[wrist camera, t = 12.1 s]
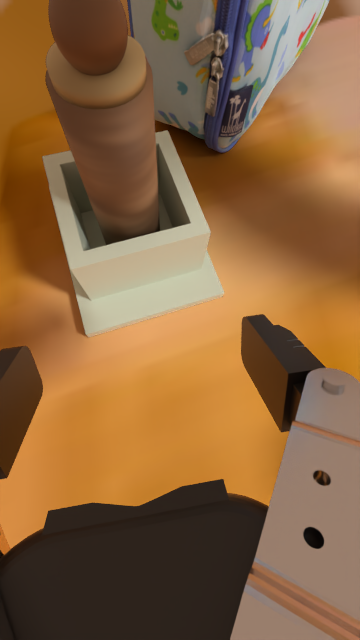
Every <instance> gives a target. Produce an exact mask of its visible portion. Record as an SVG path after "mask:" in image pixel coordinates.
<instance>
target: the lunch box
mask: <svg viewBox="0 0 360 640" xmlns="http://www.w3.org/2000/svg"><path fill="white" fill-rule="evenodd" d="M127 2H128V11H129V20H130V29H131V37H132V38H134V39H135V40H136V41H137V42H138V43H139V44H140V45H141V47H142V48H143V50H144V53H145V58H146V60H147V61H148V63H149V65H150V67H151V69H152V75H153V95H154V116H155V120H157V121H160V122H162V123H165V124H169V125H172V126H174V127H177V128H179V129H182V130H187V131H188V132H190V133H191V134H193V135H194V136H196V137H198V138H200V139H204V140H205V144H206V145H207V146H208V148H212V149H213V150H215V151H218V152H221V153H223V152H227V151H229V150H230V149H231V148H232V147H233V146H234V145H235V144H236V143H237V141H238V140H239V139H240V137H241V136H242V135H243V134H244V133H245V132H246V131H247V129H248V128H249V127H250V126H251V124H252V123H253V121H254V120H255V118H256V117H257V115H258V114H259V112H260V110H261V109H262V107H263V105H264V103H265V102H266V100H267V99H268V97H269V95H270V94H271V92H272V90H273V89H274V87H275V86H276V85H277V83H278V82H279V81H280V80H281V79H282V78H283V77H284V76H285V75H286V73H287V72H288V71H289V70H290V68H291V67H292V66H293V64H294V63H295V61H296V59H297V58H298V57H299V55H300V54H301V53H302V51H303V50H304V48H305V47H306V46H307V44H308V43H309V41H310V39H311V38H312V35H313V33H314V31H315V29H316V27H317V25H318V23H319V21H320V19H321V17H322V15H323V13H324V11H325V9H326V7H327V4H328V2H329V0H127Z"/></svg>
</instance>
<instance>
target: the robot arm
mask: <svg viewBox="0 0 360 640" xmlns="http://www.w3.org/2000/svg"><path fill="white" fill-rule="evenodd" d="M241 355H242V361H243V364H244V366H245V368H246V370H247V372H248V374H249V376H250V377H251V379H252V381H253V383H254V385H255V386H256V388H257V390H258V392H259V394H260V395H261V397H262V399H263V401H264V403H265V404H266V406H267V408H268V410H269V412H270V413H271V415H272V417H273V419H274V421H275V422H276V424H277V426H278V428H279V430H280V431H281V432H286V431H290V432H289V436H288V440H287V443H286V447H285V451H284V454H283V458H282V461H281V465H280V469H279V472H278V476H277V480H276V483H275V487H274V490H273V494H272V498H271V501H270V505H269V507H268V506H267V505H265V504H263V503H261V502H259V501H257V500H254V499H252V498H249V497H246V496H242V495H238V494H232V493H227V491H226V487H225V484H224V480H223V479H220V480H215V481H209V482H204V483H198V484H193V485H187V486H182V487H180V488H178V489H175V490H173V491H171V492H169V493H167V494H165V495H162V496H160V497H158V498H156V499H154V500H152V501H149V502H147V503H145V504H143V505H140V506H123V505H112V504H101V503H89V504H83V505H78V506H72V507H67V508H61V509H56V510H50V511H48V514H47V518H46V522H45V525H44V528H43V529H41V530H39V531H37V532H35V533H33V534H32V535H30V536H28V537H27V538H25V539H24V540H22V541H21V542H20V543H18V544H17V545H15V546H14V547H13V548H12V549H10V547H9V545H8V542H7V540H6V538H5V535H4V532H3V530H2V527H1V525H0V640H360V383H359V381H358V380H357V379H355V378H354V377H353V376H351V375H349V374H348V373H345V372H343V371H340V370H337V369H331V368H326V367H325V366H324V365H323V364H322V363H321V362H320V361H319V360H318V359H317V358H316V357H315V356H314V355H313V354H312V353H311V352H310V351H309V350H308V349H307V348H306V347H304V345H303V344H302V343H301V342H300V340H298V338H297V337H296V336H295V335H294V334H293V333H292V332H291V331H290V330H288V329H286V328H284V327H282V326H280V325H273V324H272V323H271V322H270V321H269V320H268V319H267V318H266V316H265V315H263V314H261V315H254V316H246V317H243V319H242V337H241ZM42 392H43V385H42V380H41V377H40V374H39V372H38V369H37V367H36V364H35V362H34V359H33V357H32V354H31V352H30V350H29V348H28V347H27V346H21V347H13V348H6V349H2V350H1V351H0V479H5V478H7V477H8V475H9V472H10V470H11V468H12V465H13V463H14V461H15V458H16V456H17V453H18V451H19V449H20V446H21V444H22V442H23V439H24V437H25V435H26V432H27V430H28V427H29V425H30V423H31V420H32V418H33V416H34V413H35V411H36V409H37V406H38V404H39V401H40V399H41V397H42Z"/></svg>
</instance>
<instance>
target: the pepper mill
mask: <svg viewBox="0 0 360 640" xmlns="http://www.w3.org/2000/svg"><path fill="white" fill-rule="evenodd" d="M49 22H50V27H51V31H52V34H53V37H54V40H55V42H54V44H53V45H52V46H51V47H50V49H49V51H48V53H47V56H46V67H47V72H46V85H47V88H48V91H49V93H50V96H51V99H52V101H53V104H54V107H55V109H56V112H57V115H58V117H59V120H60V123H61V125H62V128H63V131H64V133H65V136H66V139H67V141H68V144H69V147H70V149H71V152H72V155H73V157H74V160H75V163H76V165H77V168H78V171H79V173H80V176H81V179H82V182H83V184H84V187H85V190H86V192H87V195H88V198H89V200H90V203H91V206H92V208H93V211H94V214H95V216H96V219H97V222H98V224H99V227H100V230H101V232H102V235H103V238H104V240H105V243H106V245H109V244H113V243H117V242H121V241H125V240H129V239H132V238H136V237H140V236H144V235H148V234H152V233H155V232H159V231H160V220H159V199H158V178H157V157H156V136H155V116H154V95H153V75H152V69H151V67H150V65H149V63H148V61H147V60H146V58H145V53H144V50H143V48H142V47H141V45H140V44H139V43H138V42H137V41H136V40H135V39H134V38H132V37H131V36H129V35H128V27H127V20H126V15H125V12H124V9H123V6H122V3H121V1H120V0H49Z"/></svg>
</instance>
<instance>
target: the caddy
mask: <svg viewBox="0 0 360 640" xmlns="http://www.w3.org/2000/svg"><path fill="white" fill-rule="evenodd" d="M155 136H156V157H157V178H158V199H159V220H160V231H159V232H155V233H152V234H148V235H144V236H140V237H136V238H132V239H129V240H125V241H121V242H117V243H113V244H109V245H106V243H105V240H104V238H103V235H102V232H101V230H100V227H99V224H98V222H97V219H96V216H95V214H94V211H93V208H92V206H91V203H90V200H89V198H88V195H87V192H86V190H85V187H84V184H83V182H82V179H81V176H80V173H79V171H78V168H77V165H76V163H75V160H74V157H73V155H72V152H71V151H66V152H61V153H56V154H51V155H47V156H42V158H43V162H44V166H45V170H46V174H47V178H48V182H49V189H50V193H51V197H52V201H53V205H54V209H55V213H56V217H57V221H58V225H59V229H60V233H61V237H62V241H63V245H64V249H65V253H66V257H67V261H68V265H69V269H70V273H71V277H72V281H73V285H74V289H75V293H76V297H77V301H78V305H79V309H80V313H81V317H82V321H83V325H84V329H85V333H86V335H87V336H88V337H92V336H95V335H98V334H102V333H105V332H108V331H111V330H115V329H118V328H121V327H125V326H128V325H131V324H135V323H138V322H141V321H144V320H148V319H151V318H154V317H158V316H161V315H164V314H167V313H171V312H174V311H177V310H181V309H184V308H187V307H191V306H194V305H197V304H200V303H204V302H207V301H210V300H214V299H217V298H220V297H223V295H224V291H223V288H222V286H221V283H220V281H219V279H218V276H217V274H216V271H215V269H214V266H213V264H212V262H211V259H210V257H209V254H208V252H207V246H208V242H209V238H210V234H211V231H210V229H209V226H208V224H207V222H206V219H205V217H204V214H203V212H202V210H201V207H200V205H199V203H198V200H197V198H196V196H195V193H194V191H193V189H192V186H191V184H190V182H189V179H188V177H187V175H186V172H185V170H184V167H183V165H182V163H181V160H180V158H179V156H178V153H177V151H176V149H175V146H174V144H173V142H172V139H171V137H170V135H169V132H168V130H166V131H161V132H156V133H155Z"/></svg>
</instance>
